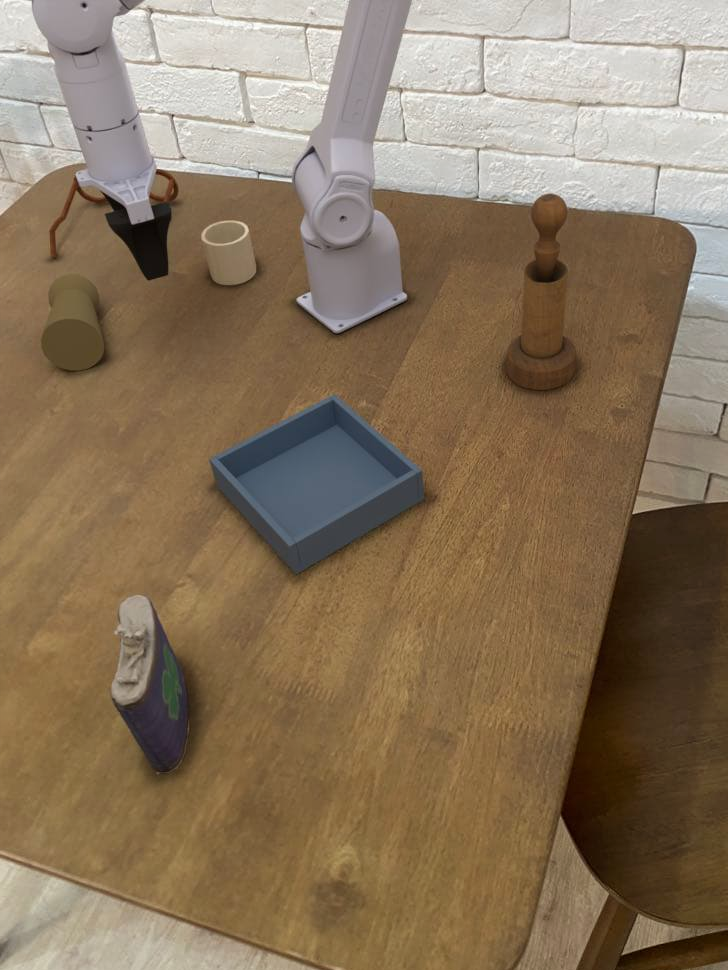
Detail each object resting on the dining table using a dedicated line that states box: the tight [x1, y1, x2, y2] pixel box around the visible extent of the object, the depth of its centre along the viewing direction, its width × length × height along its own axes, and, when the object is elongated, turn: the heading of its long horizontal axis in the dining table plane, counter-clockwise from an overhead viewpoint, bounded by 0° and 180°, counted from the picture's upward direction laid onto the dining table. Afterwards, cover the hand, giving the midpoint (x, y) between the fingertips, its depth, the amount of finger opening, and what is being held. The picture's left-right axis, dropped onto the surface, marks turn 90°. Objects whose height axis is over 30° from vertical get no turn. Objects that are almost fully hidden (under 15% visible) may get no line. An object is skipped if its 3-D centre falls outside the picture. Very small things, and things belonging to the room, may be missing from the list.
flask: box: [109, 594, 191, 776], centre depth 64 cm, size 9×3×11 cm, turn 8°
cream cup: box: [200, 220, 258, 286], centre depth 105 cm, size 5×5×5 cm
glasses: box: [49, 168, 179, 259], centre depth 113 cm, size 13×13×5 cm
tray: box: [208, 393, 425, 575], centre depth 81 cm, size 13×13×4 cm
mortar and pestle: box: [505, 193, 577, 391], centre depth 85 cm, size 7×6×18 cm
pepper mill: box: [40, 273, 105, 371], centre depth 98 cm, size 6×6×11 cm
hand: (148, 256), depth 91 cm, fingers open, 7 cm apart
